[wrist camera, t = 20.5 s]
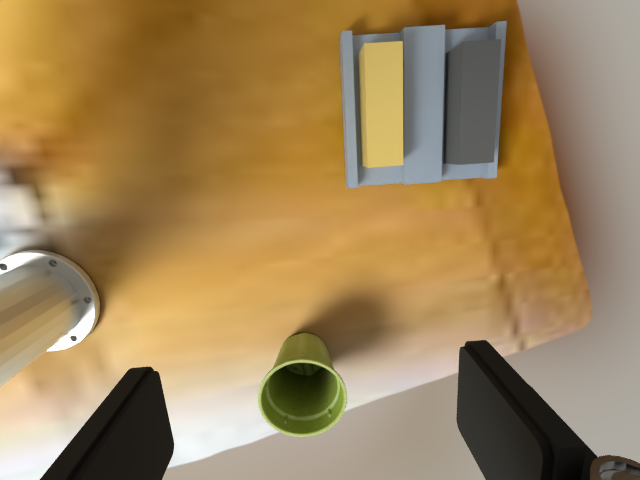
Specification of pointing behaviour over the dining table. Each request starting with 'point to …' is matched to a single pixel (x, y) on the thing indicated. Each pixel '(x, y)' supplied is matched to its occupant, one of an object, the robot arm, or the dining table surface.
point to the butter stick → (381, 103)
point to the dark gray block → (471, 102)
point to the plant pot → (302, 389)
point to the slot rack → (414, 105)
